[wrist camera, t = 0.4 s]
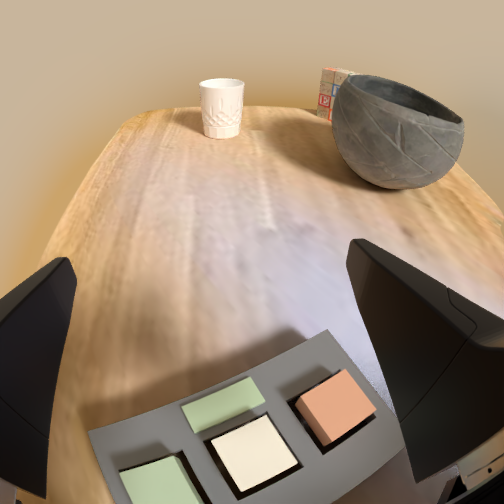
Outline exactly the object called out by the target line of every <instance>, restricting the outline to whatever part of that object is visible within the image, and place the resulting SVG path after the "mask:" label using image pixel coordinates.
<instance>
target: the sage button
mask: <svg viewBox="0 0 504 504" xmlns="http://www.w3.org/2000/svg"><path fill="white" fill-rule="evenodd" d="M119 474H120V477H121V479H122V481H123V483H124V486H125V488H126V490H127V492H128V494H129V496H130V498H131V500H132V502H133V504H204V502H203V501H202V499H201V497H200V496H199V494H198V492H197V490H196V489H195V487H194V485H193V483H192V482H191V480H190V478H189V476H188V474H187V472H186V471H185V469H184V467H183V465H182V463H181V461H180V459H179V458H177V457H175V456H171V457H168V458H165V459H162V460H159V461H156V462H153V463H150V464H147V465H144V466H141V467H138V468H134V469H131V470H128V471H124V472H121V473H119Z"/></svg>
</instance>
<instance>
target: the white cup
mask: <svg viewBox="0 0 504 504" xmlns="http://www.w3.org/2000/svg"><path fill="white" fill-rule="evenodd" d="M199 88H200V101H201V113H202V121H203V129H204V134H205V136H207V137H209V138H214V139H228V138H233V137H235V136H237V135H238V134H239V132H240V124H241V117H242V108H243V94H244V82H243V81H241V80H236V79H225V78H221V79H210V80H206V81H203V82H201V83H200V84H199Z"/></svg>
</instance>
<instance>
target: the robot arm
mask: <svg viewBox="0 0 504 504" xmlns="http://www.w3.org/2000/svg"><path fill="white" fill-rule="evenodd" d="M346 267H347V271H348V274H349V278H350V281H351V285H352V288H353V292H354V295H355V299H356V302H357V306H358V309H359V311H360V314H361V316H362V319H363V321H364V324H365V327H366V329H367V332H368V334H369V337H370V340H371V342H372V345H373V348H374V350H375V353H376V356H377V359H378V361H379V364H380V367H381V370H382V373H383V375H384V378H385V381H386V384H387V387H388V390H389V393H390V396H391V399H392V402H393V405H394V408H395V412H396V415H397V418H398V421H399V423H400V428H401V432H402V435H403V438H404V442H405V445H406V449H407V452H408V456H409V460H410V463H411V467H412V471H413V475H414V479H415V482H416V483H419V482H422V481H424V480H426V479H428V478H430V477H433V476H435V475H437V474H439V473H441V472H443V471H445V470H447V469H449V468H451V467H453V466H455V465H457V468H458V470H459V473H460V475H459V476H457V477H455V478H453V479H451V480H449V481H447V483H446V486H445V488H444V490H443V492H442V494H441V497H440V499H439V501H438V503H437V504H504V320H503V319H502V318H500V317H498V316H496V315H495V314H493V313H491V312H489V311H487V310H486V309H484V308H482V307H480V306H479V305H477V304H475V303H473V302H472V301H470V300H468V299H466V298H465V297H463V296H462V295H460V294H458V293H457V292H455V291H453V290H452V289H450V288H447V287H446V286H445V285H444V284H442V283H440V282H439V281H437V280H435V279H434V278H432V277H430V276H429V275H427V274H425V273H424V272H422V271H420V270H419V269H417V268H415V267H413V266H412V265H410V264H408V263H407V262H405V261H403V260H401V259H400V258H398V257H396V256H394V255H393V254H391V253H389V252H387V251H385V250H384V249H382V248H380V247H378V246H376V245H375V244H373V243H371V242H369V241H367V240H365V239H353V240H351V242H350V245H349V250H348V255H347V260H346ZM76 286H77V278H76V275H75V273H74V270H73V267H72V265H71V262H70V260H69V259H68V258H67V257H58V258H55V259H54V260H52V261H51V262H50V263H48V264H47V265H45V266H44V267H43V268H41V269H40V270H38V271H37V272H36V273H34V274H33V275H32V276H30V277H29V278H27V279H26V280H25V281H23V282H22V283H21V284H19V285H18V286H17V287H16V288H14V289H13V290H12V291H10V292H9V293H8V294H6V295H5V296H4V297H3V298H1V299H0V504H22V502H21V501H20V500H17V499H16V494H17V489H20V490H22V491H25V492H27V493H30V494H32V495H35V496H38V497H40V498H43V499H46V487H47V459H48V445H49V440H48V439H49V433H50V424H51V416H52V408H53V401H54V395H55V389H56V383H57V378H58V373H59V368H60V363H61V358H62V353H63V349H64V345H65V340H66V336H67V332H68V328H69V324H70V319H71V313H72V307H73V301H74V296H75V291H76Z"/></svg>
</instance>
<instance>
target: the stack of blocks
mask: <svg viewBox="0 0 504 504" xmlns="http://www.w3.org/2000/svg"><path fill="white" fill-rule="evenodd" d="M350 75H363V74H359V73H355V72H352V71H347V70H344V69H340V68H336V67H330V68H323V69H322V78H321V85H320V94H319V103H318V109H317V116H318V117H321V118H324V119H327V120H329V121H332V108H333V103H334V99H335V96H336V93H337V91H338V89H339V88H340V86H341V84H342V83H343V81H344V80H345V79H346V78H347V77H348V76H350Z"/></svg>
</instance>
